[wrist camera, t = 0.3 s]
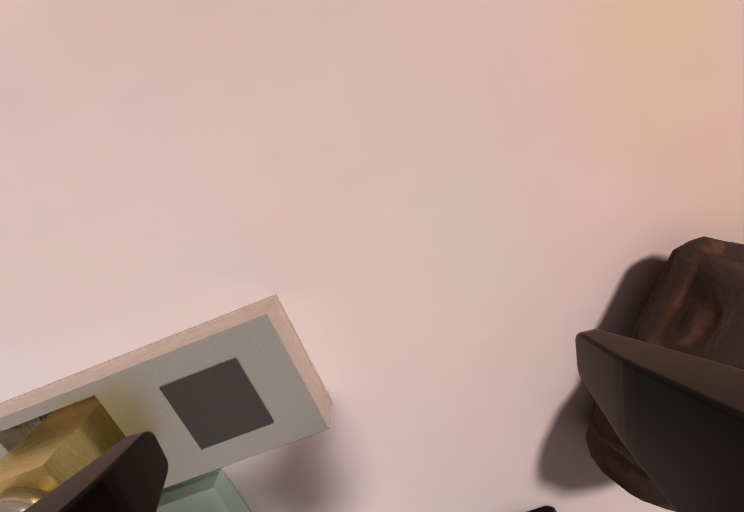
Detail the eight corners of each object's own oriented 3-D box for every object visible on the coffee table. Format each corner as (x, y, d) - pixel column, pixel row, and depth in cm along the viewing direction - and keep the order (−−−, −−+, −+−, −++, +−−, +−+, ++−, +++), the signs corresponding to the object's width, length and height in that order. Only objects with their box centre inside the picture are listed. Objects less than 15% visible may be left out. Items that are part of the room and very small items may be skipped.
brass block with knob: (155, 439, 25) (81, 554, 18) (95, 462, 26) (1, 582, 19) (116, 386, 24) (21, 487, 17) (53, 410, 24) (-65, 520, 17)
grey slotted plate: (331, 400, 25) (328, 429, 22) (10, 518, 27) (-25, 558, 24) (276, 294, 22) (266, 314, 20) (-72, 432, 24) (-121, 465, 22)
